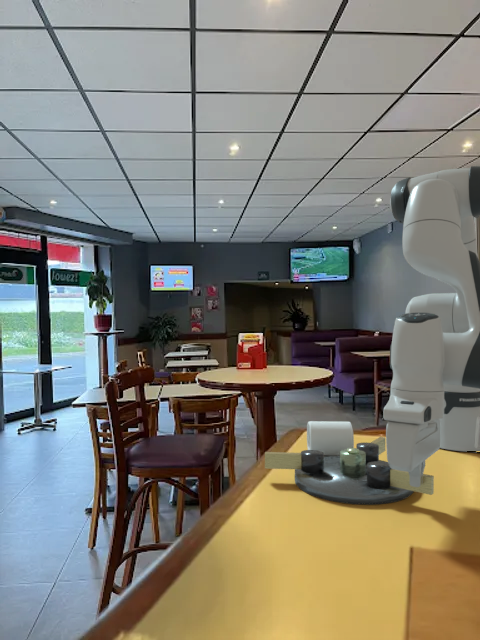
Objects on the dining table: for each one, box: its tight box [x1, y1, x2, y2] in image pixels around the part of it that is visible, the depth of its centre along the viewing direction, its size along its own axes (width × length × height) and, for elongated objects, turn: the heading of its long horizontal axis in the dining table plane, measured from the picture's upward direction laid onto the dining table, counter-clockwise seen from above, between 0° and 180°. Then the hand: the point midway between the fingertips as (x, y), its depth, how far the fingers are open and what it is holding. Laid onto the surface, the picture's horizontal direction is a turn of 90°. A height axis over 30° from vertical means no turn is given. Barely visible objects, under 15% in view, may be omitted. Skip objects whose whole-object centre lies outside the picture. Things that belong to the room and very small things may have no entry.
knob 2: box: [355, 436, 386, 464], centre depth 108 cm, size 12×5×3 cm, turn 145°
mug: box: [306, 420, 355, 457], centre depth 120 cm, size 12×10×8 cm
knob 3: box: [367, 461, 435, 496], centre depth 89 cm, size 12×5×3 cm, turn 52°
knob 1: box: [264, 449, 325, 474], centre depth 100 cm, size 12×5×3 cm, turn 85°
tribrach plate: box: [294, 447, 414, 506], centre depth 99 cm, size 23×23×7 cm
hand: (416, 485), depth 86 cm, fingers closed
